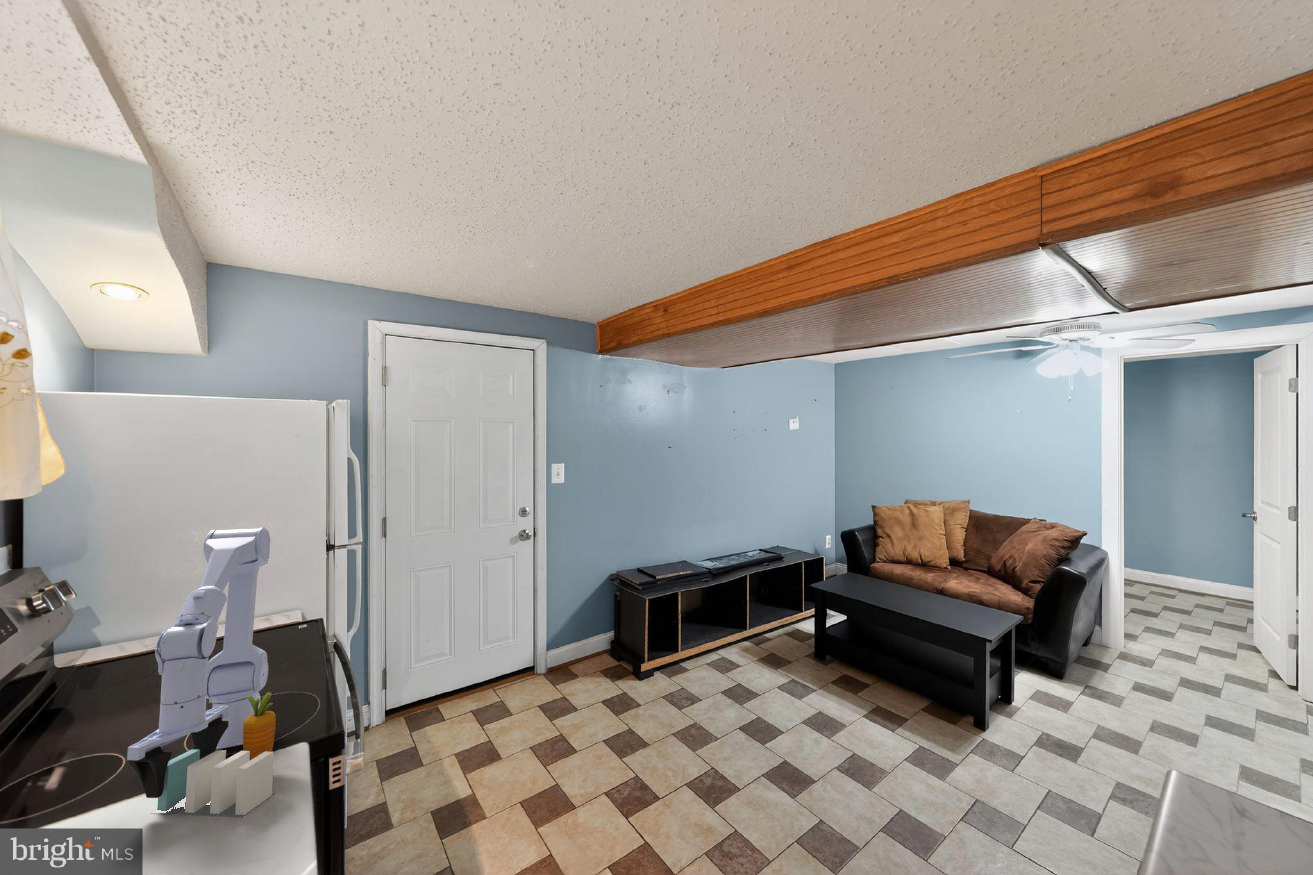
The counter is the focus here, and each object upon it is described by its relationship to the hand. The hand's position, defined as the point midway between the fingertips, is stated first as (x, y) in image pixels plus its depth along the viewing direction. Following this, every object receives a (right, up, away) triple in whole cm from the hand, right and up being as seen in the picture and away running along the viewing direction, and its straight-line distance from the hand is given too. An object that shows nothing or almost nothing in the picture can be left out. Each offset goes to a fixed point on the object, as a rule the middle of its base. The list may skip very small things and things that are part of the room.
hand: (179, 782), depth 83 cm
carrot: (+8, -4, +6) cm, 11 cm away
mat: (+7, -3, -1) cm, 8 cm away
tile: (0, -3, 0) cm, 3 cm away
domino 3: (+14, -2, -2) cm, 14 cm away
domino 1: (+5, -3, -1) cm, 6 cm away
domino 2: (+10, -3, -1) cm, 10 cm away
